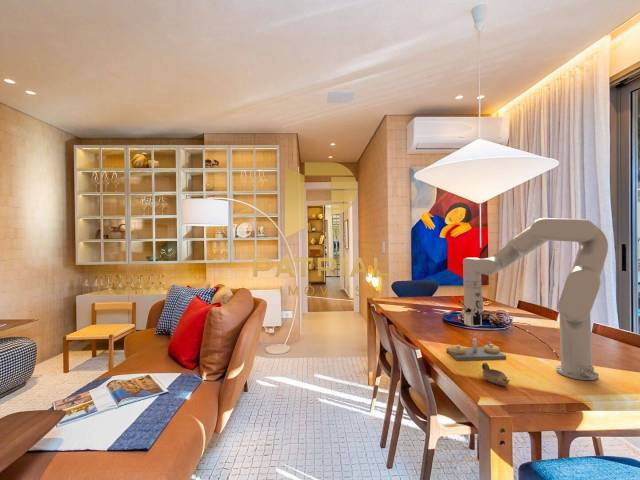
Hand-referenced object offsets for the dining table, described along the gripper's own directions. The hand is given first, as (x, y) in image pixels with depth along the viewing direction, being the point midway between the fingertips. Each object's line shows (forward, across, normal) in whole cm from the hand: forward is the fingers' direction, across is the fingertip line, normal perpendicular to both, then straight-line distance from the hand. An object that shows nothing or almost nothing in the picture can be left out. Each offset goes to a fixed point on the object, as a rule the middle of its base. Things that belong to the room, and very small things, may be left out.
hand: (472, 322), depth 149 cm
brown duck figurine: (+15, -28, +5) cm, 32 cm away
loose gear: (+1, 0, 0) cm, 1 cm away
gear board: (+15, 0, -1) cm, 15 cm away
